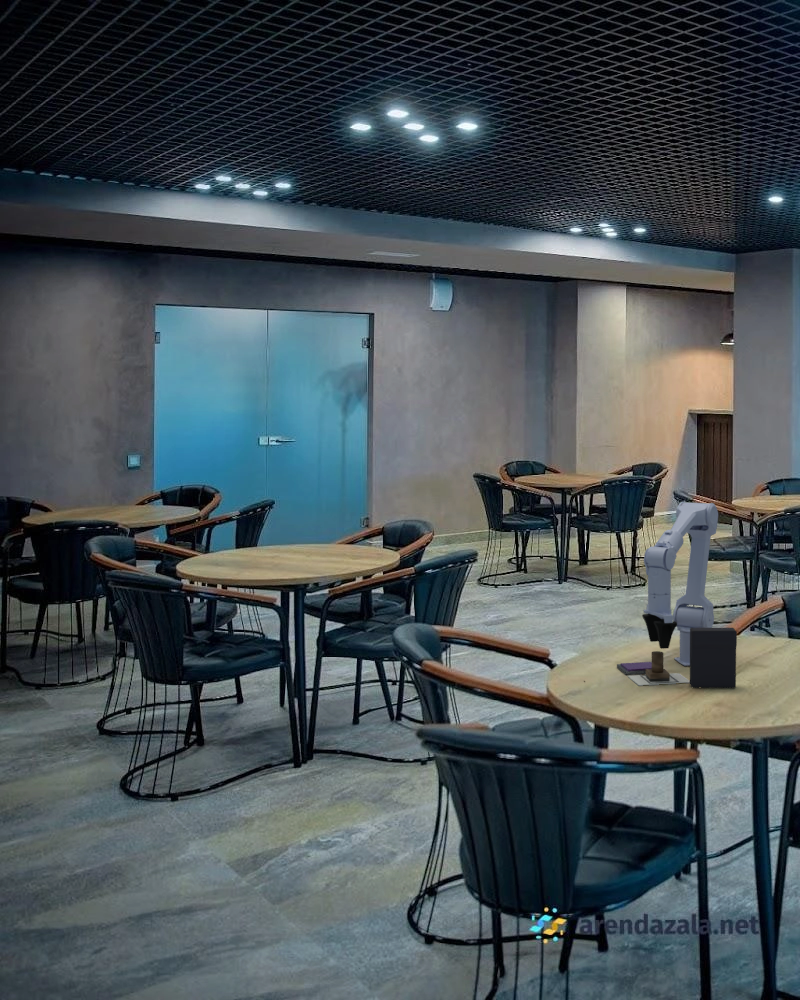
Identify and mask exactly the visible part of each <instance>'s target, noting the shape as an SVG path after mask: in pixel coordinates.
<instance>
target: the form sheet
mask: <svg viewBox="0 0 800 1000" xmlns="http://www.w3.org/2000/svg"><path fill="white" fill-rule="evenodd" d="M669 674H670V681H663V682H650V681H649V680H648V679H647V678H646V674H644V675H627V678H628V679H630V681H632V682H633V683H634V684H635V685H637V686H638V687H644V686H643V685H649V686H660V685H659V684H668V685H677V684H676V683H686V684H690V679H688V678H686V677H685V676H684V675H682V674H681V673H680V672H677V673H676V672H674V673H669Z"/></svg>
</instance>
